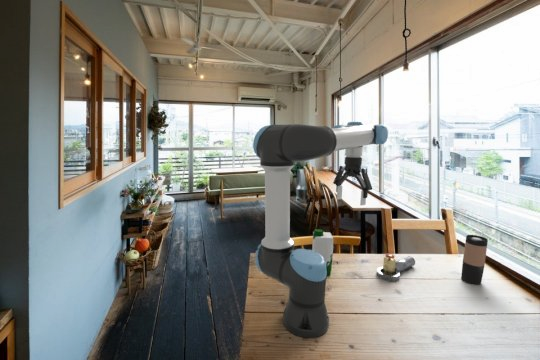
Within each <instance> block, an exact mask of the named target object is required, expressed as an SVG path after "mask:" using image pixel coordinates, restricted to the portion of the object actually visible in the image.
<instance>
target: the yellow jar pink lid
mask: <svg viewBox="0 0 540 360" xmlns="http://www.w3.org/2000/svg"><path fill="white" fill-rule="evenodd" d="M395 262H397V261H396V258H395V255H394V254H392V253H386V254H385V257H383V265H382V267H383V272H382V273H383V274H386V275H390V276H391V275H394V272H395Z"/></svg>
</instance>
